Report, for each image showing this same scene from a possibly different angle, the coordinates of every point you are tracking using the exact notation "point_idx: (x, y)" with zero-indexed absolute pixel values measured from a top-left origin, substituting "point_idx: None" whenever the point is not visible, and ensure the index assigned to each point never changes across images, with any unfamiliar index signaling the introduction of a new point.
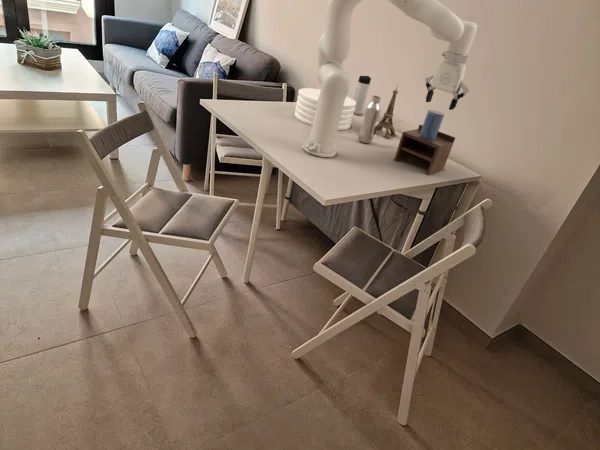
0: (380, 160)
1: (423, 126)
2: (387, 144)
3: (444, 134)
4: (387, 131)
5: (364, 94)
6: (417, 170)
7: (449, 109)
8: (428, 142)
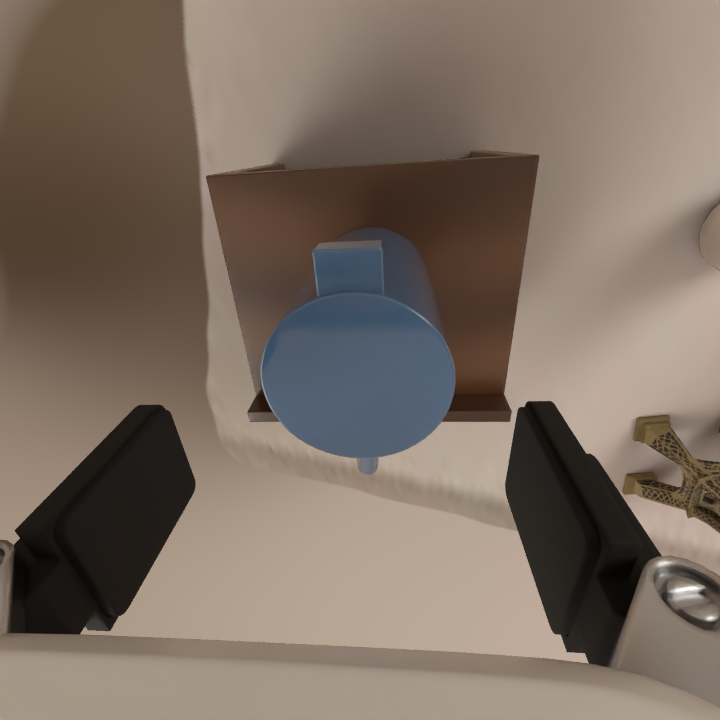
0: (533, 24)
1: (412, 260)
2: (612, 346)
3: None
4: (676, 447)
5: None
6: (335, 159)
7: (158, 406)
8: (296, 169)
